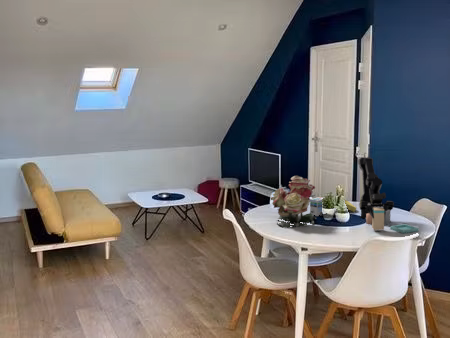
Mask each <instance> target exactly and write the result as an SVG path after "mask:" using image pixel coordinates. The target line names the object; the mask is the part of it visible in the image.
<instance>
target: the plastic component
mask: <svg viewBox="0 0 450 338" xmlns="http://www.w3.org/2000/svg"><path fill="white" fill-rule="evenodd" d="M343 199H344V200H345V204H346V206H347V208H348V209H347V210H349V211H350V212H353V213H355V212H356V210H357V207H356V206H355V205H354V204H352V203H351V202H350V201H348V200H346V199H345V198H343Z"/></svg>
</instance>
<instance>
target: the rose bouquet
mask: <svg viewBox="0 0 450 338" xmlns="http://www.w3.org/2000/svg"><path fill="white" fill-rule="evenodd" d="M290 180H291V181H289V182H288V183H289V184H288V187H289V189H290V191H288V190H285V189H284V187H280V188H277V189H276V190H275V191H274V193H272V196H271V197H270V200H271V201H272V203H271V204H272V206H273V209H276V208H277V210H278V211H277V213H278V216H279V217H278V218H277V219H281V220H282V219H283V220H285V221H290V222H295V223H291V224H294V225H290V222H289V223H286V222H284V221H280V222H281V223H279V224H278V225H280V226H282V227H281V228H283V227H290V226H297V227H296V228H299V227H300V226H304V225H307V224H302V223H300V222H305V223H306V222H307V223H309V222H310V221H311V223H310V224H314V225H315V221H314V220H316V219H317V216H314V215H313V214H311V213H312V212H311V213H310V212H309V213H306V214H304V213H305V212H307V211H308V208H309V206H310V199H311V198H314V197H315V196H316V194H315V195H314V194H313V193H314V191H313V190H314V189H316V186H315V185H313V184H309V183H310V181H311V180H310V179H308V178H304V177H302V176H299V175H294V176H292V177H291V178H290Z"/></svg>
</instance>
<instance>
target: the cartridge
mask: <svg viewBox="0 0 450 338" xmlns="http://www.w3.org/2000/svg"><path fill="white" fill-rule="evenodd" d="M365 224H366V225H372V216H371V215H370V214H369V213H367V214H366V218H365Z"/></svg>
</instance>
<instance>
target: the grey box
mask: <svg viewBox="0 0 450 338" xmlns="http://www.w3.org/2000/svg"><path fill="white" fill-rule="evenodd" d="M391 211H392V210H387V211H386V212H385V217H384V226H387V225H388V224H390V223H391Z"/></svg>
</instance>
